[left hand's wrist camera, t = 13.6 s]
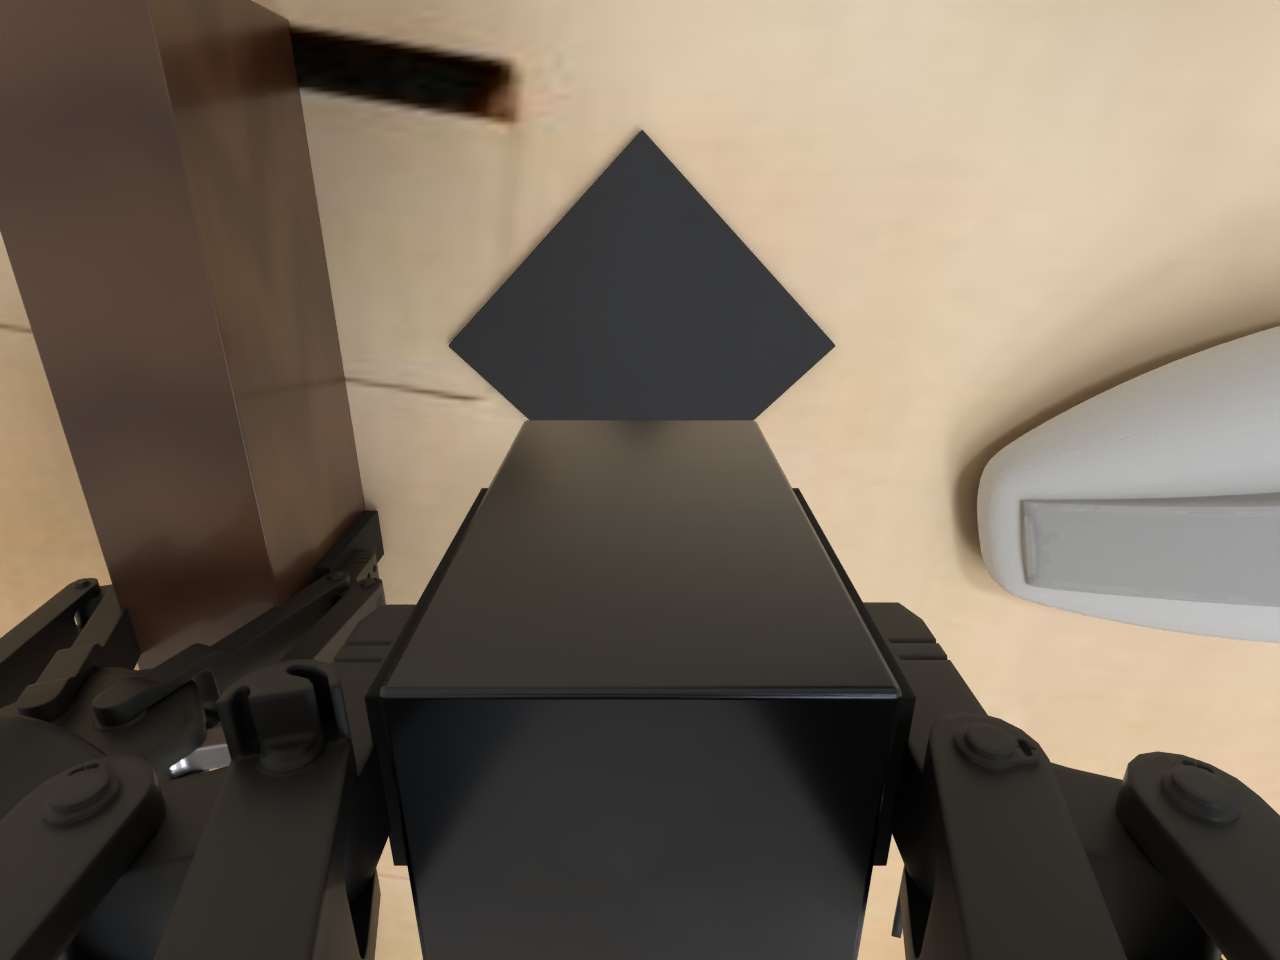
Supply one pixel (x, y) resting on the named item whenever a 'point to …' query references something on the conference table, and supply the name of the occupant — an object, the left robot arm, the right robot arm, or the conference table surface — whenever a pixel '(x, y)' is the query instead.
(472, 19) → the conference table surface
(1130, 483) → the projector
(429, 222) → the conference table surface
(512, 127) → the conference table surface
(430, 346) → the conference table surface
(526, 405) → the rubber mat
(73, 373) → the walnut case
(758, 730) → the metal block
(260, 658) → the right robot arm
